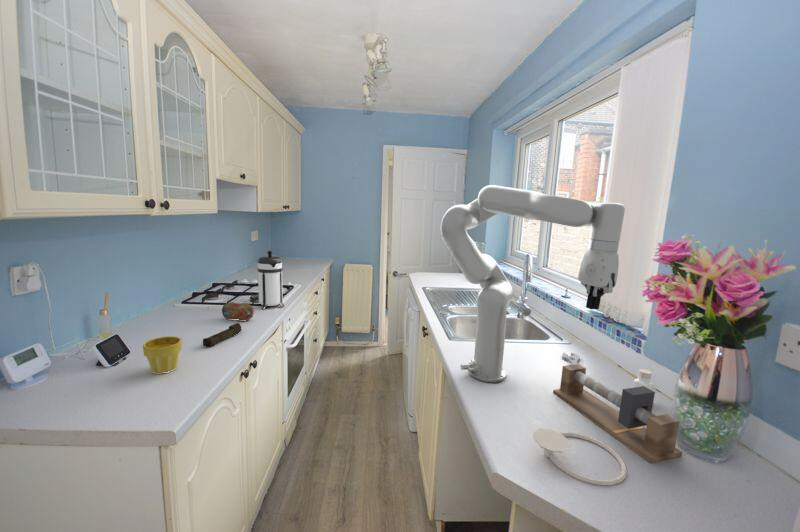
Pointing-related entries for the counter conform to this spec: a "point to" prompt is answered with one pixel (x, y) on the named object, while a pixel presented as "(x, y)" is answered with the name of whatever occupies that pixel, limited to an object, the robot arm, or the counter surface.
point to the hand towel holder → (560, 444)
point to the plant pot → (162, 353)
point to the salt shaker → (643, 379)
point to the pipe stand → (643, 441)
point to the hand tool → (222, 335)
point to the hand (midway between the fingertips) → (592, 308)
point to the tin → (237, 311)
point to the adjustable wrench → (571, 358)
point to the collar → (634, 405)
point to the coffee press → (270, 280)
